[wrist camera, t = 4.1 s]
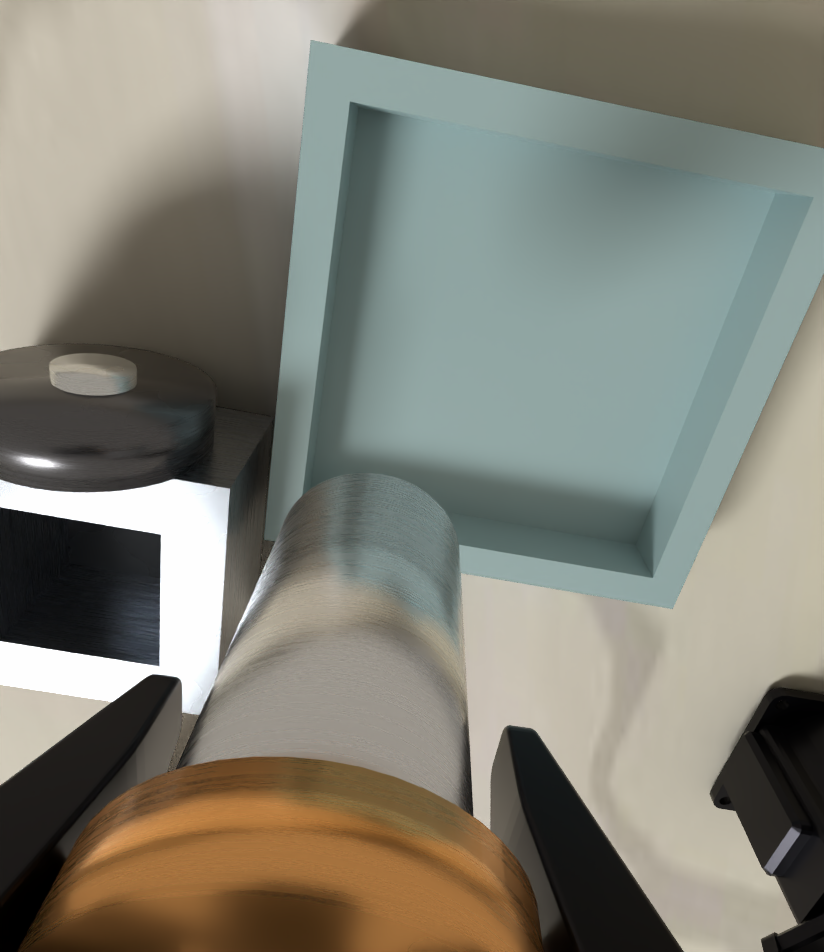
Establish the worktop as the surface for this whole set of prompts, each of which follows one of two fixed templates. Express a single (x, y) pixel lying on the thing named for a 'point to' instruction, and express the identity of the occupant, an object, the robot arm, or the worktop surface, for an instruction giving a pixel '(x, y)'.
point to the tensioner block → (123, 520)
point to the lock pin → (315, 767)
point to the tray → (536, 314)
